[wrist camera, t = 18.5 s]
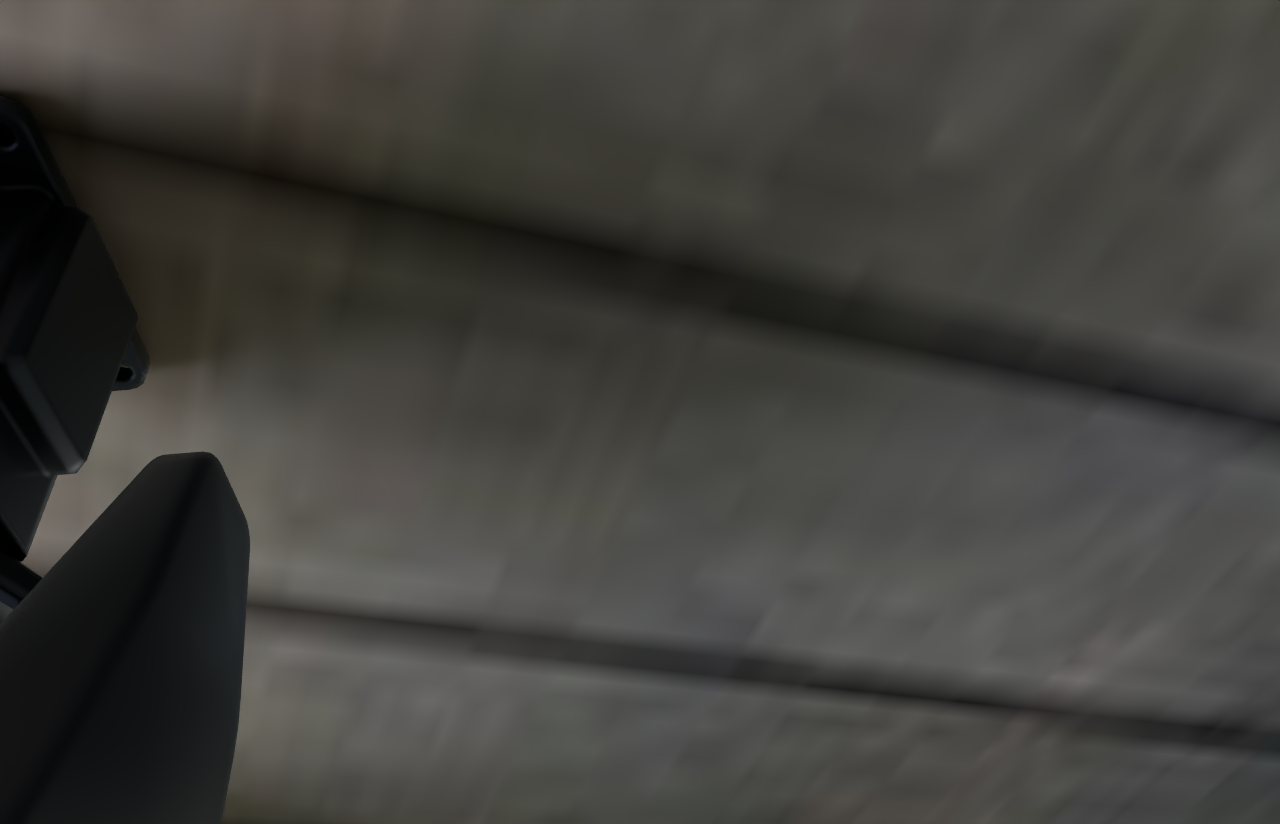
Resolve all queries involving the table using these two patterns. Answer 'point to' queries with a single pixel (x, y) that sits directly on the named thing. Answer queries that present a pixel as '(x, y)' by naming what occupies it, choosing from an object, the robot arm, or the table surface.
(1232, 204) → the table surface
